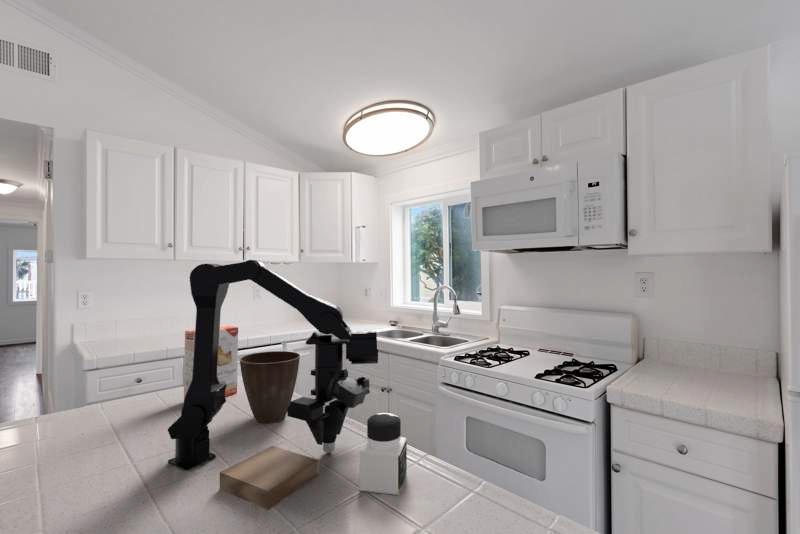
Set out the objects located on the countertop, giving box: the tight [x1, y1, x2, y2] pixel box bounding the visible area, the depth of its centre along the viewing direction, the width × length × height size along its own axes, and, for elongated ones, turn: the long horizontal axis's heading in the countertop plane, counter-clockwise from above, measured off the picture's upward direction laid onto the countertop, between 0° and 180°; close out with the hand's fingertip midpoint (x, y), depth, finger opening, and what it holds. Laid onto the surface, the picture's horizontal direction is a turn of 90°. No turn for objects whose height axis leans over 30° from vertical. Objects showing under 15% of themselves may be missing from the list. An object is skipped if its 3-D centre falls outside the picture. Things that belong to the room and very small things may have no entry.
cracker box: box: [183, 325, 239, 400], centre depth 119 cm, size 14×6×21 cm, turn 147°
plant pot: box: [239, 350, 301, 424], centre depth 103 cm, size 15×15×16 cm
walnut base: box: [219, 445, 319, 510], centre depth 72 cm, size 12×12×3 cm
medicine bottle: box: [359, 412, 408, 496], centre depth 72 cm, size 7×7×12 cm
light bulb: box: [322, 404, 344, 455], centre depth 83 cm, size 6×6×10 cm
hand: (328, 439), depth 83 cm, fingers closed on light bulb, 5 cm apart
